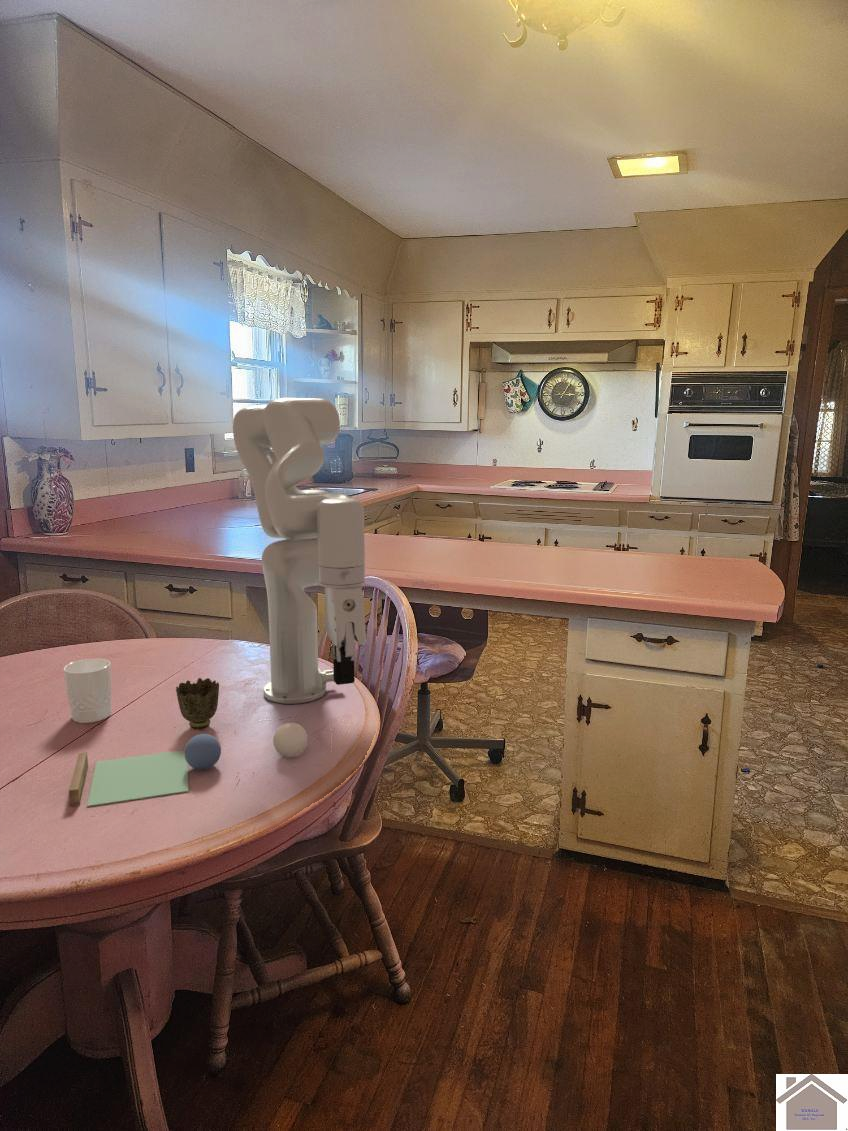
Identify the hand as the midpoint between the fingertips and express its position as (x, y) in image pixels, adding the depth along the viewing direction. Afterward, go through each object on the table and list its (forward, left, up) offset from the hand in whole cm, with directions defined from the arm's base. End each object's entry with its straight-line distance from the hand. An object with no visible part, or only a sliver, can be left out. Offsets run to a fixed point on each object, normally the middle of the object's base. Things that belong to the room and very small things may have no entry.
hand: (344, 682), depth 121 cm
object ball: (+23, -1, -9) cm, 25 cm away
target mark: (+33, -1, -12) cm, 35 cm away
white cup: (+42, -28, -12) cm, 52 cm away
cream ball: (+9, -1, -9) cm, 13 cm away
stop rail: (+41, -1, -12) cm, 43 cm away
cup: (+23, -17, -12) cm, 31 cm away
